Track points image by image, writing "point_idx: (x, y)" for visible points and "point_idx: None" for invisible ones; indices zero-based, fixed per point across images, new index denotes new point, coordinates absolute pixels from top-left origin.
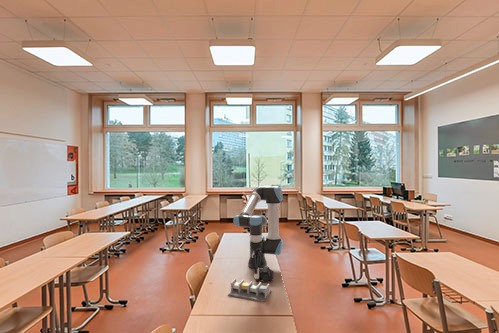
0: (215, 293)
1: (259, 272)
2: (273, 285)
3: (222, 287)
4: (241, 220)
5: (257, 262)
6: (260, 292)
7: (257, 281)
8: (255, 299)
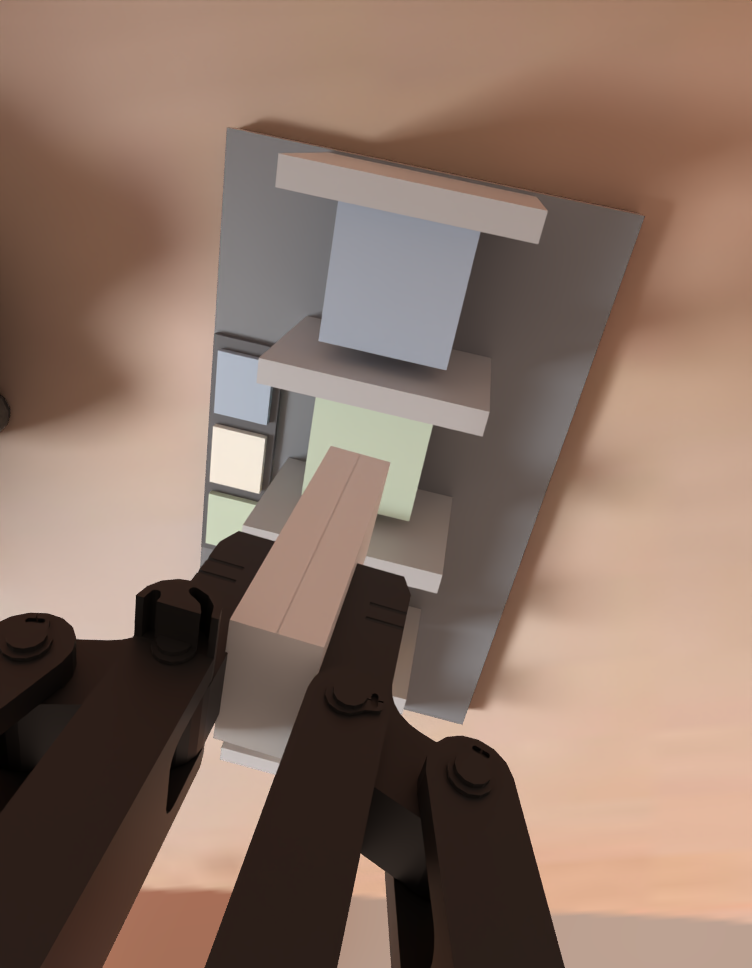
0: None
1: None
2: (15, 111)
3: None
4: None
5: (255, 944)
6: None
7: (7, 409)
8: (583, 378)
